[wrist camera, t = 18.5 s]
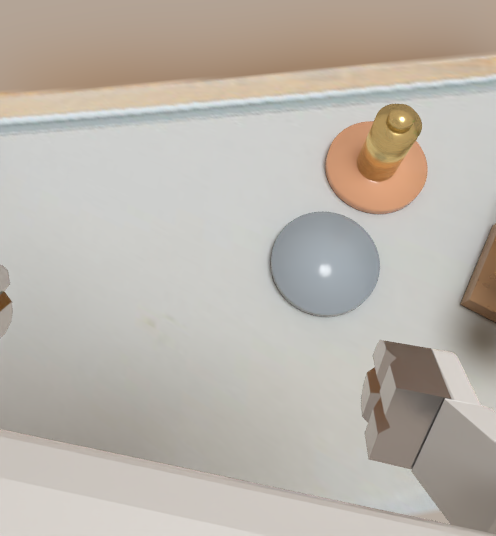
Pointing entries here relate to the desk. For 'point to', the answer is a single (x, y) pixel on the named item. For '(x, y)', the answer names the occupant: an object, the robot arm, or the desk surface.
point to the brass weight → (388, 141)
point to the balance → (483, 281)
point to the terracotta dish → (364, 190)
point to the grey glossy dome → (325, 264)
